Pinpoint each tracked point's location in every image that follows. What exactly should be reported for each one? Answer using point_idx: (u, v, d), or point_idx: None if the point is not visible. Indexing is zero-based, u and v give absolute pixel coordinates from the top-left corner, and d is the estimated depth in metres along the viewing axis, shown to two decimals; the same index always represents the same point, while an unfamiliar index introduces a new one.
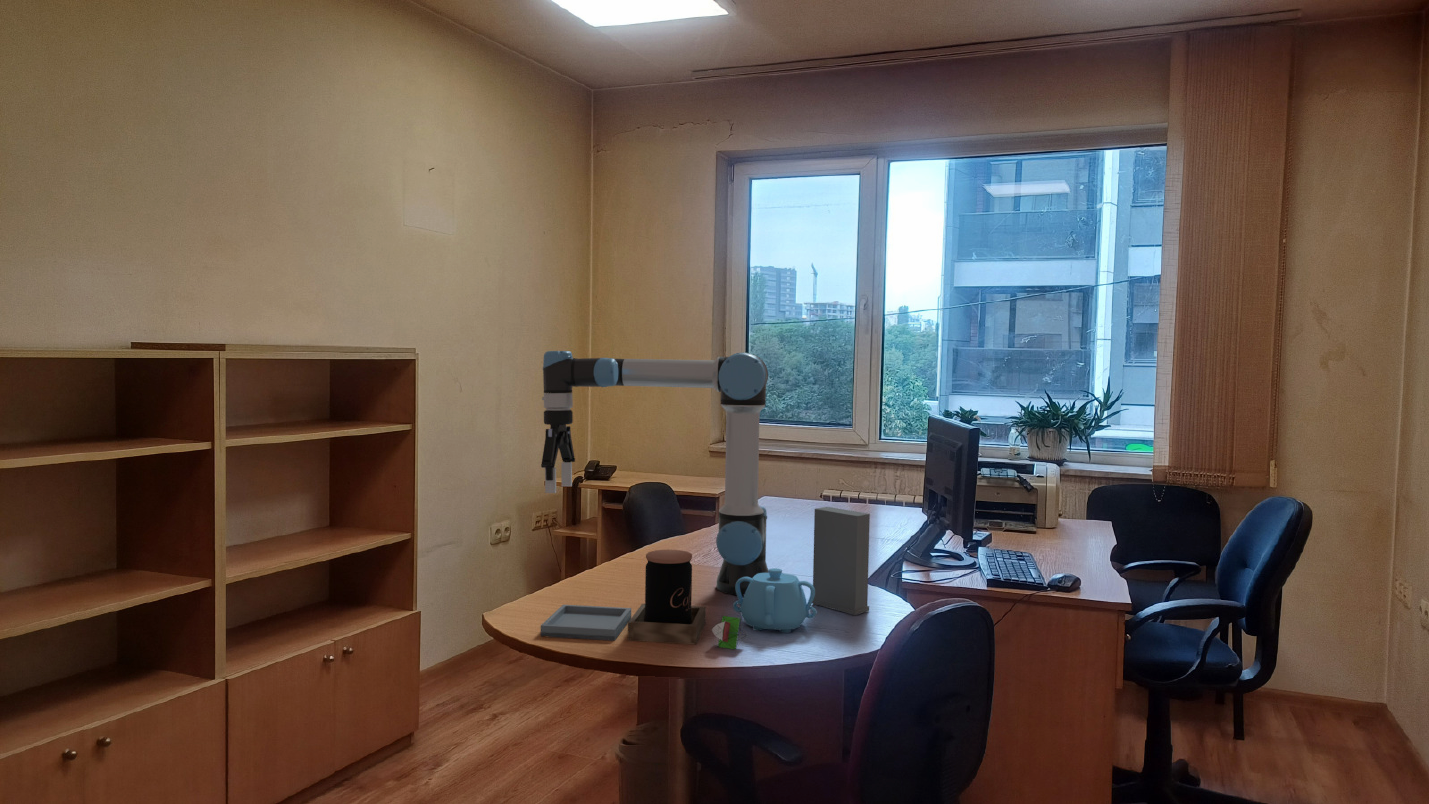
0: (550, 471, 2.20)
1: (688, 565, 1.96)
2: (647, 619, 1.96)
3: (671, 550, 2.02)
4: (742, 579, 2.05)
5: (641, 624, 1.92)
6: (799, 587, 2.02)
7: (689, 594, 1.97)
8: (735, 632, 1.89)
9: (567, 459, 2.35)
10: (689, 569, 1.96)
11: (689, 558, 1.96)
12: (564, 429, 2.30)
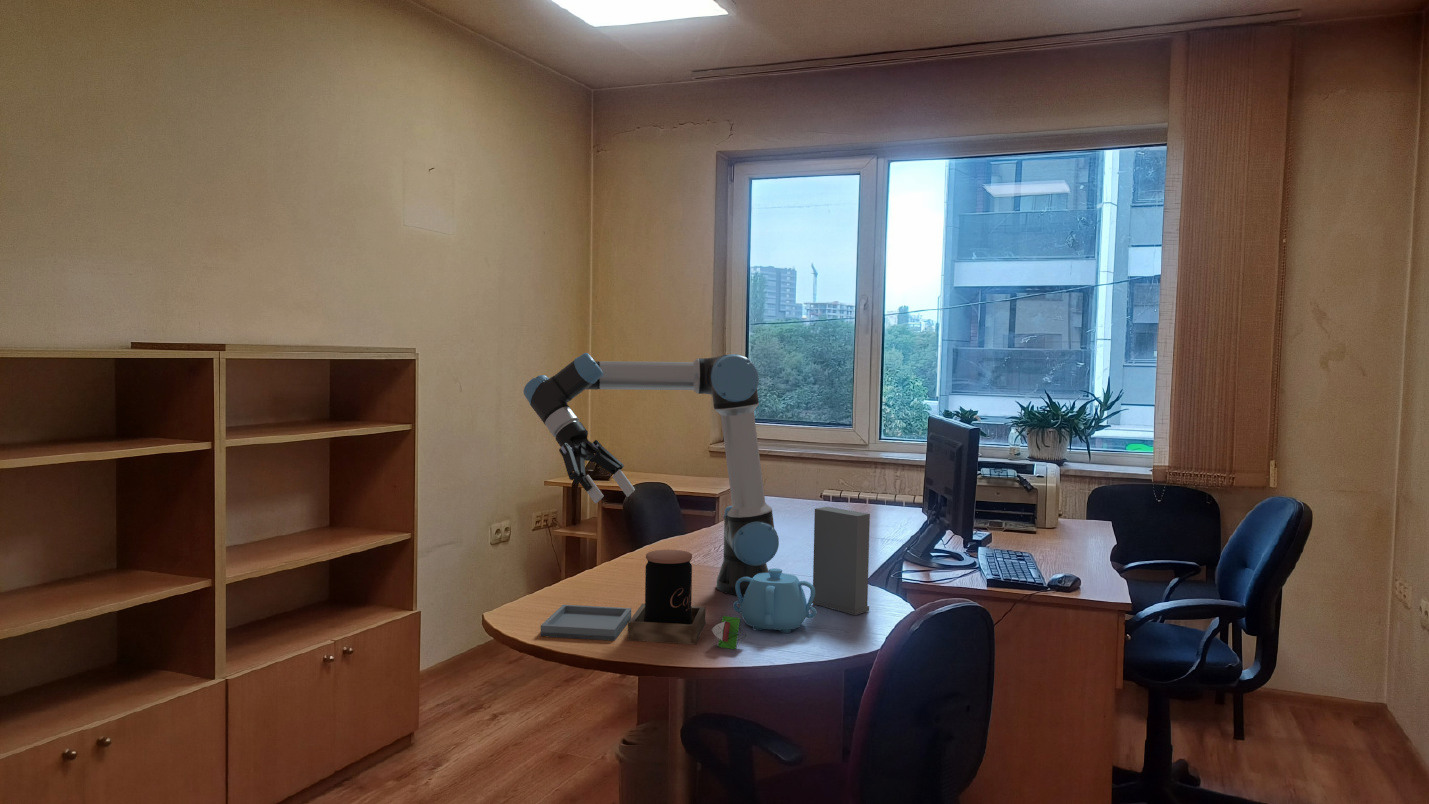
0: (583, 480, 2.01)
1: (688, 565, 1.96)
2: (647, 619, 1.96)
3: (671, 550, 2.02)
4: (742, 579, 2.05)
5: (641, 624, 1.92)
6: (799, 587, 2.02)
7: (689, 594, 1.97)
8: (735, 632, 1.89)
9: (615, 470, 2.16)
10: (689, 569, 1.96)
11: (689, 558, 1.96)
12: (586, 442, 2.13)
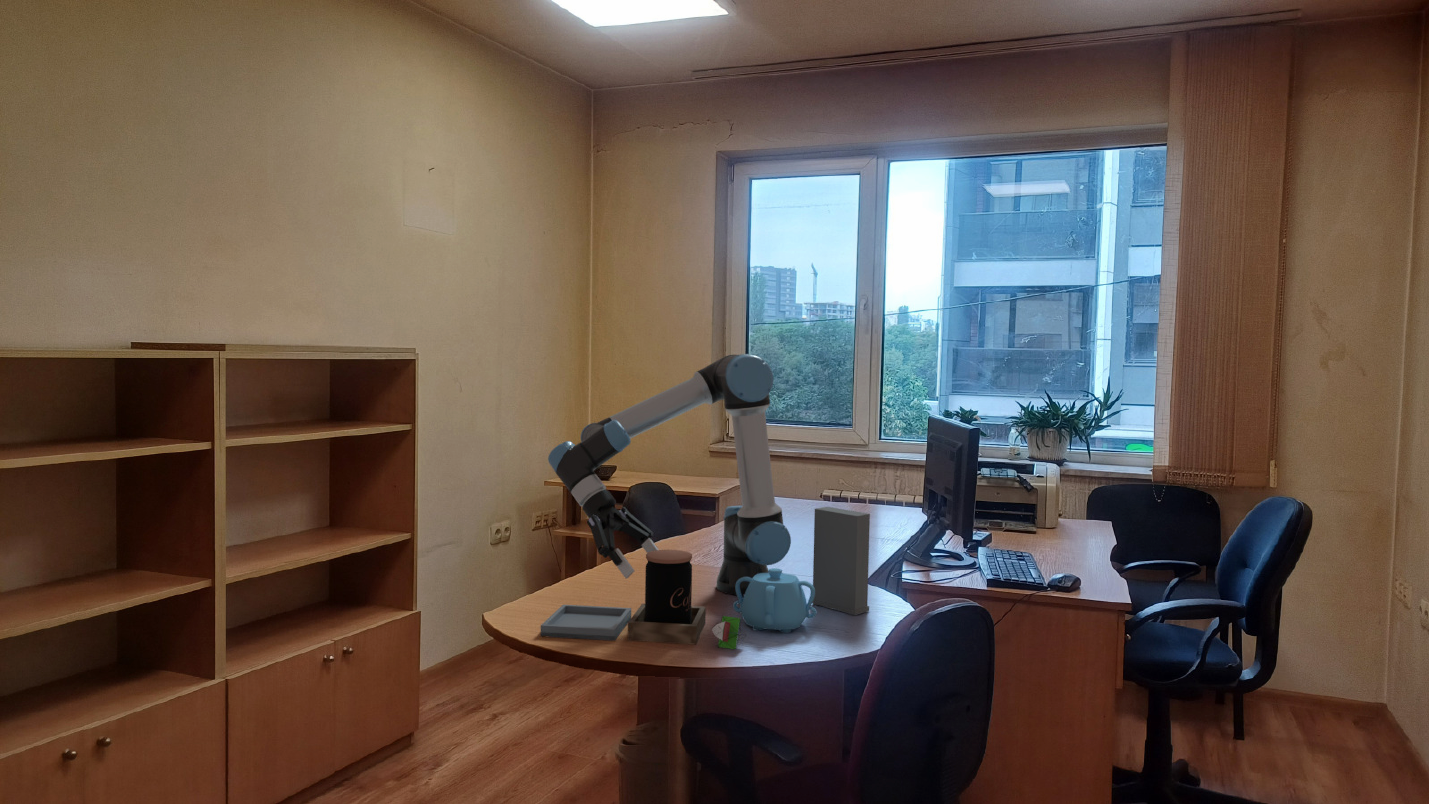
0: (613, 554, 1.94)
1: (688, 565, 1.96)
2: (647, 619, 1.96)
3: (671, 550, 2.02)
4: (742, 579, 2.05)
5: (641, 624, 1.92)
6: (799, 587, 2.02)
7: (689, 594, 1.97)
8: (735, 632, 1.89)
9: (644, 538, 2.09)
10: (689, 569, 1.96)
11: (689, 558, 1.96)
12: (614, 511, 2.06)
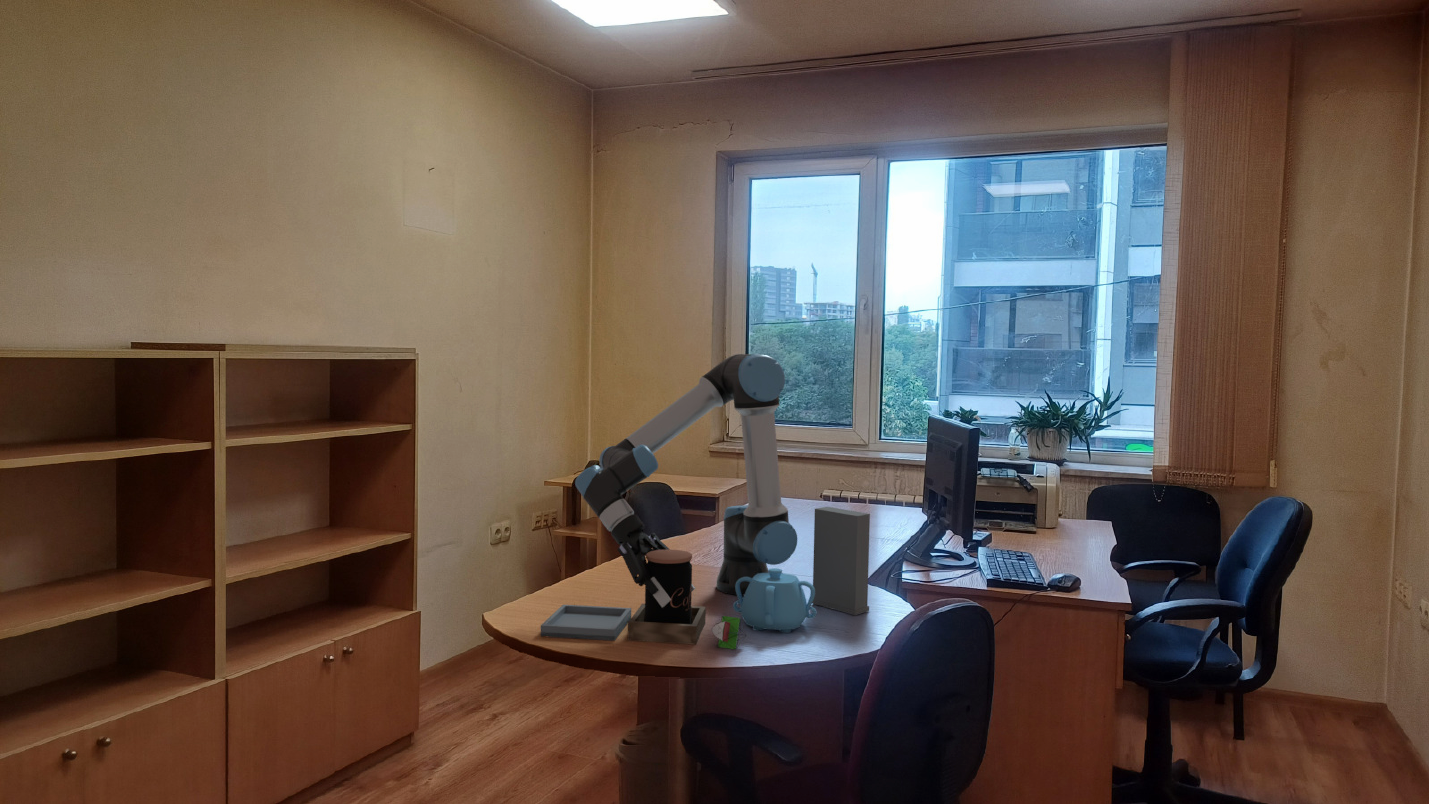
0: (649, 583, 1.92)
1: (688, 565, 1.96)
2: (647, 619, 1.96)
3: (671, 550, 2.02)
4: (742, 579, 2.05)
5: (641, 624, 1.92)
6: (799, 587, 2.02)
7: (689, 594, 1.97)
8: (735, 632, 1.89)
9: None
10: (689, 569, 1.96)
11: (689, 558, 1.96)
12: (642, 536, 2.03)
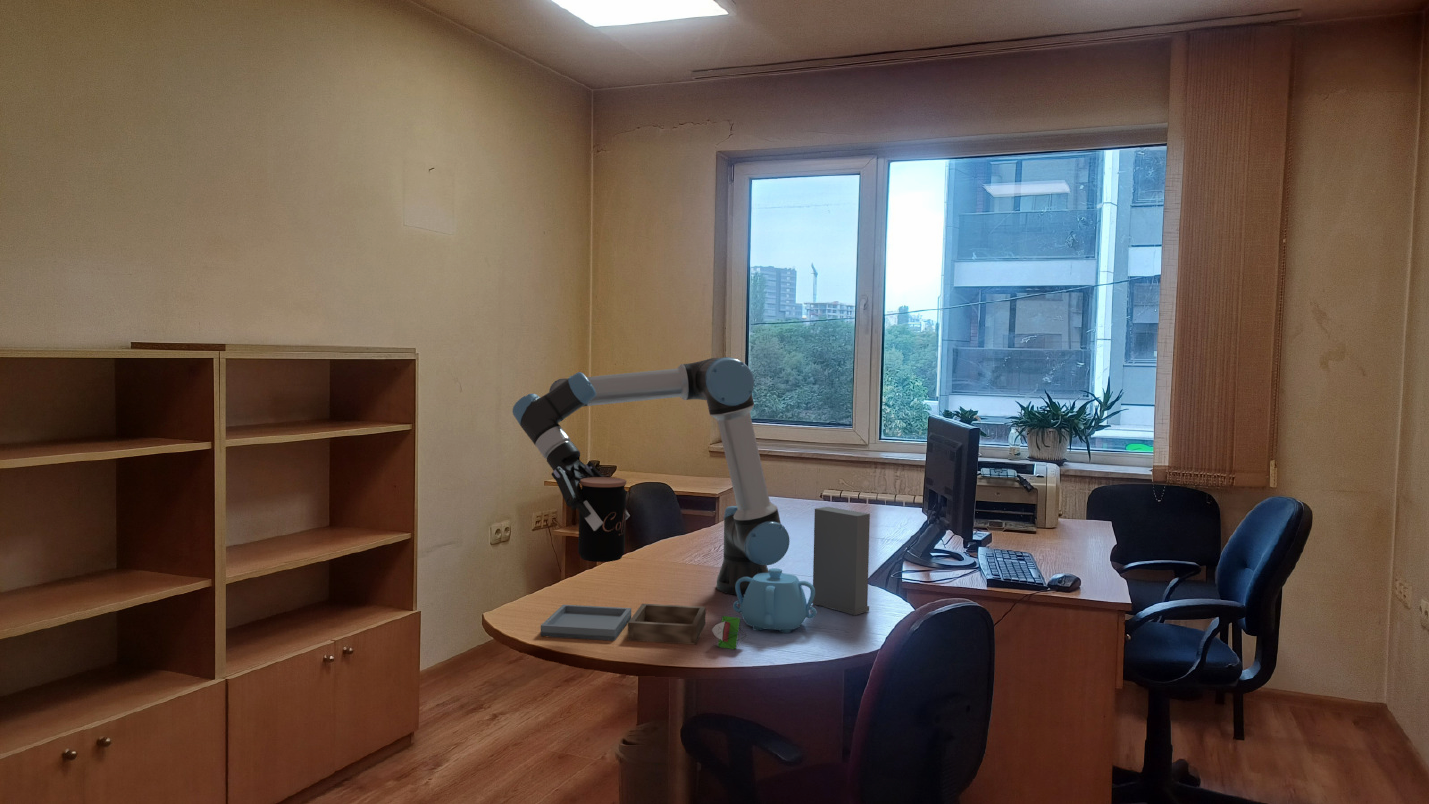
0: (581, 506, 1.93)
1: (622, 490, 1.97)
2: (580, 543, 1.97)
3: (606, 477, 2.03)
4: (742, 579, 2.05)
5: (641, 624, 1.92)
6: (799, 587, 2.02)
7: (622, 519, 1.97)
8: (735, 632, 1.89)
9: None
10: (622, 494, 1.97)
11: (623, 483, 1.97)
12: (578, 463, 2.04)
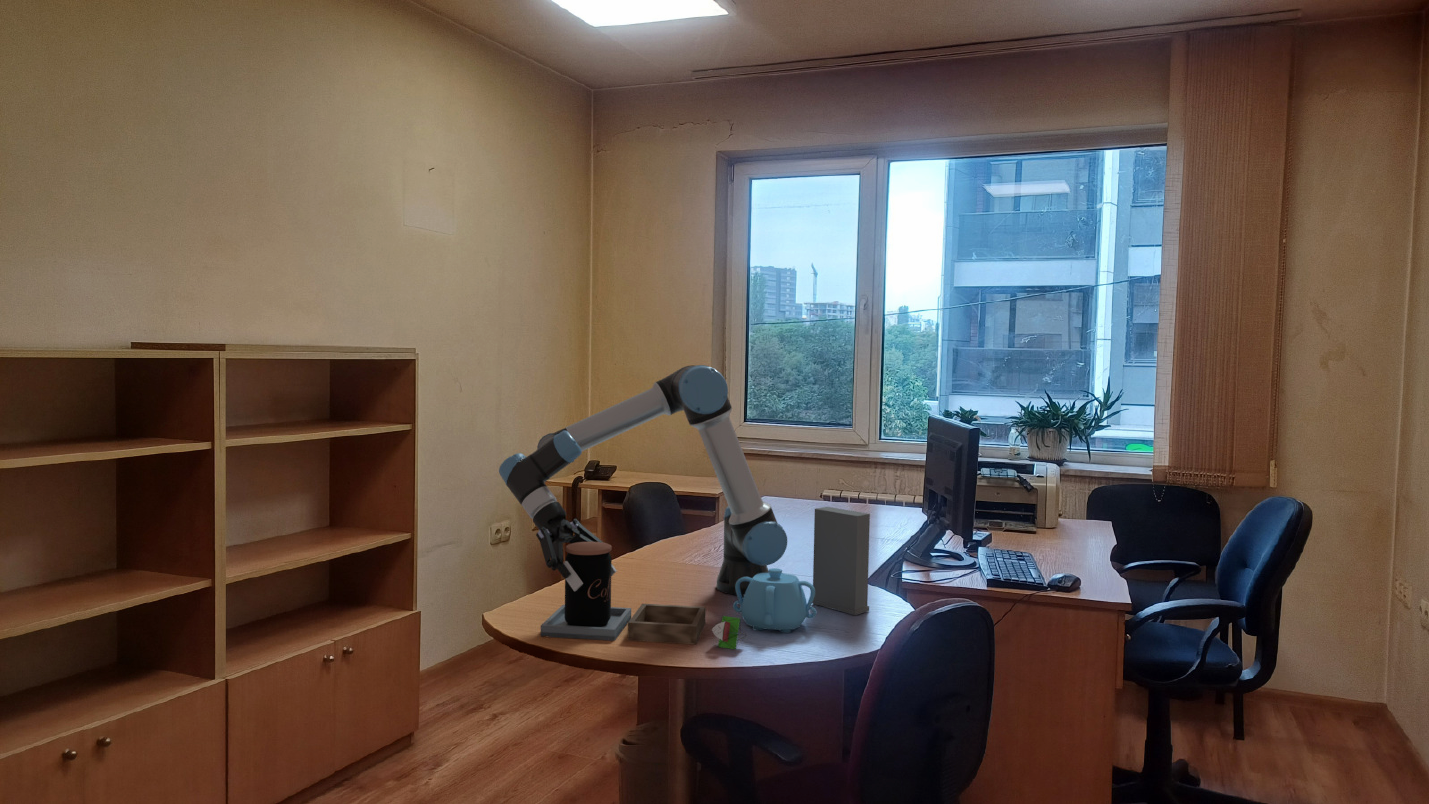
0: (561, 567, 1.94)
1: (607, 557, 1.99)
2: (566, 610, 1.99)
3: (592, 542, 2.05)
4: (742, 579, 2.05)
5: (641, 624, 1.92)
6: (799, 587, 2.02)
7: (608, 585, 1.99)
8: (735, 632, 1.89)
9: None
10: (607, 561, 1.99)
11: (607, 550, 1.98)
12: (565, 523, 2.06)
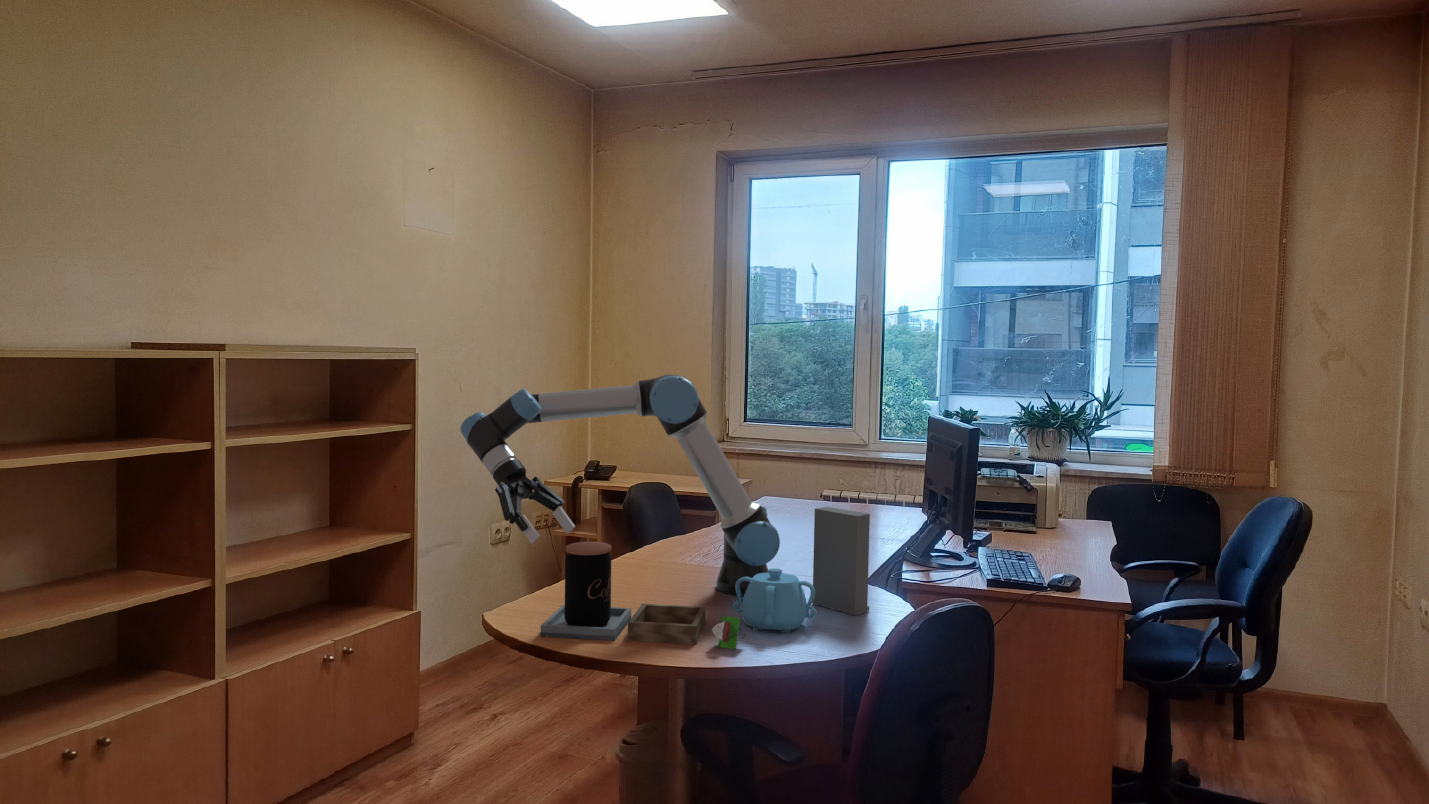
0: (519, 520, 1.99)
1: (606, 557, 1.99)
2: (566, 610, 1.99)
3: (592, 542, 2.05)
4: (742, 579, 2.05)
5: (641, 624, 1.92)
6: (799, 587, 2.02)
7: (608, 585, 1.99)
8: (735, 632, 1.89)
9: (555, 506, 2.13)
10: (607, 561, 1.99)
11: (607, 550, 1.98)
12: (524, 480, 2.10)
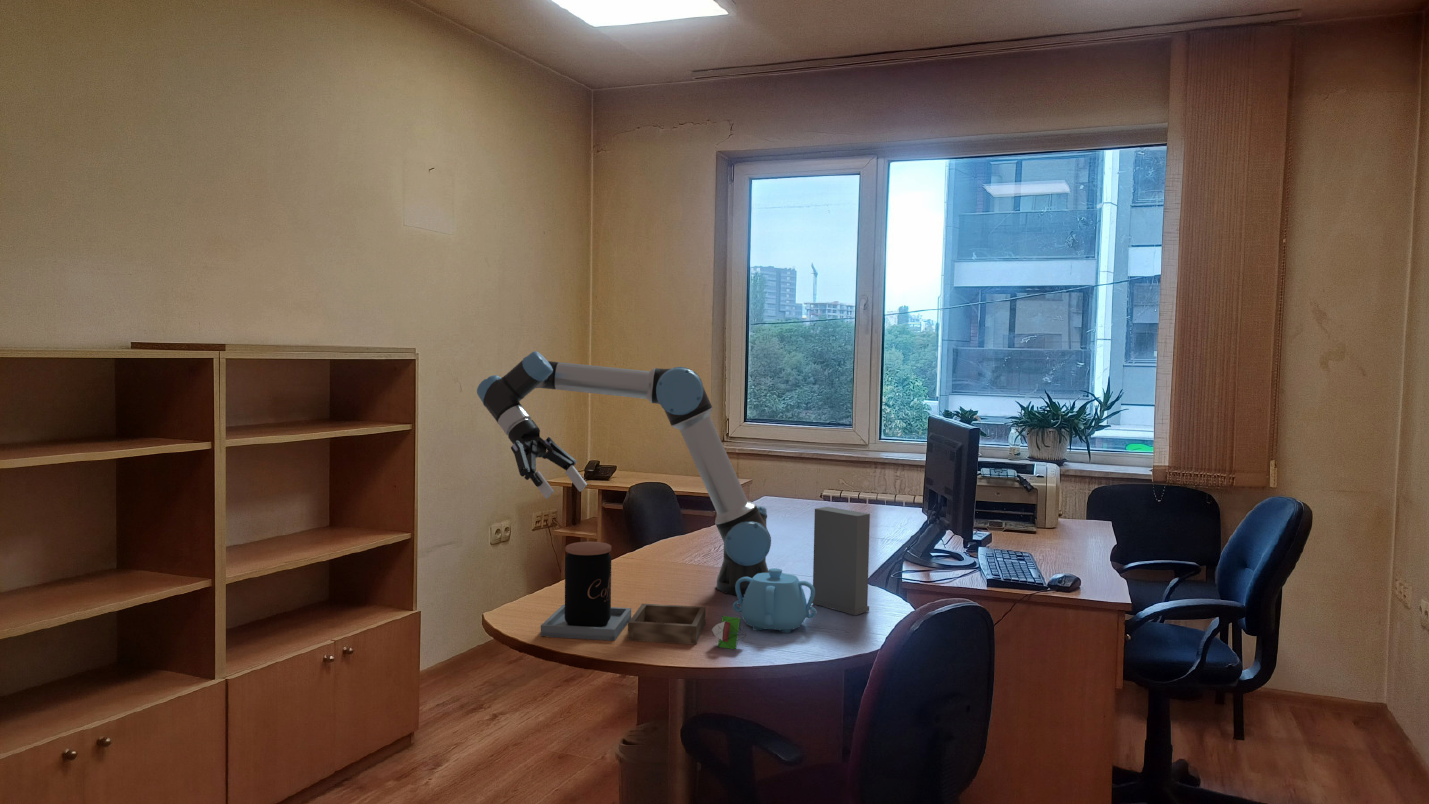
0: (534, 476, 2.07)
1: (606, 557, 1.99)
2: (566, 610, 1.99)
3: (592, 542, 2.05)
4: (742, 579, 2.05)
5: (641, 624, 1.92)
6: (799, 587, 2.02)
7: (608, 585, 1.99)
8: (735, 632, 1.89)
9: (568, 465, 2.22)
10: (607, 561, 1.99)
11: (607, 550, 1.98)
12: (538, 440, 2.19)
